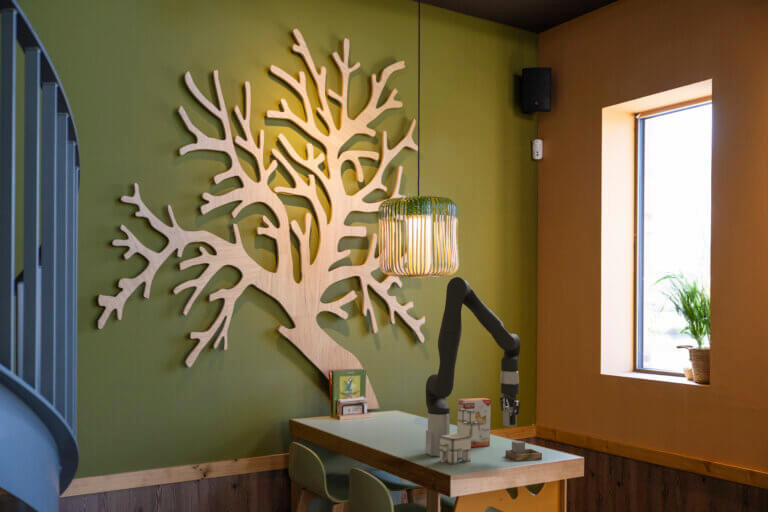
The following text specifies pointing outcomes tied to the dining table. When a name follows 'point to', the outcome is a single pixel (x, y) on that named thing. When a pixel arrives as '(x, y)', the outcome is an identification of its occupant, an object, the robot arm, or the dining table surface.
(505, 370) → the robot arm
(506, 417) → the beige grey block
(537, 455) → the bin
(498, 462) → the dining table surface
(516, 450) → the grey rectangular block
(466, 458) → the toy llama
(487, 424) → the cracker box
